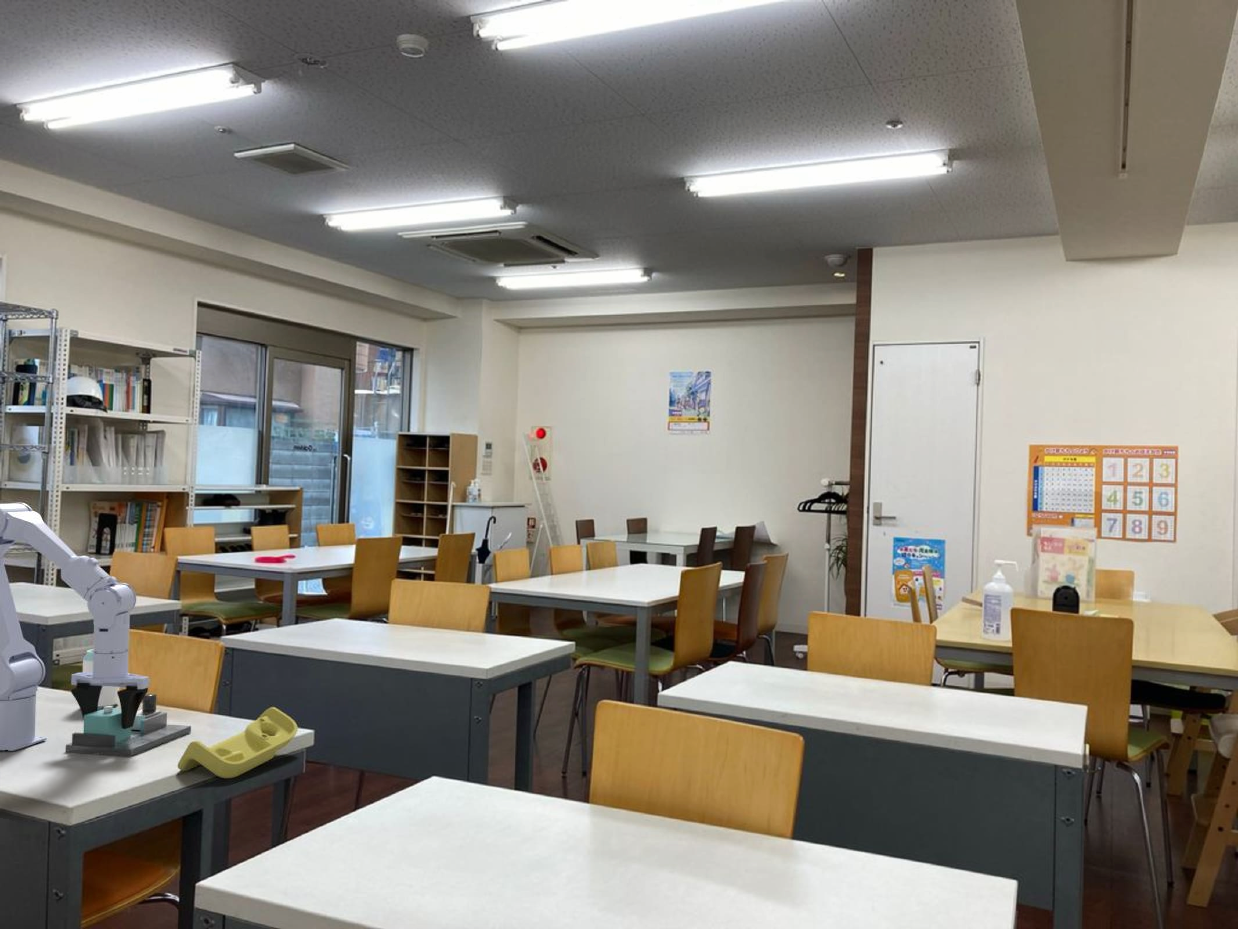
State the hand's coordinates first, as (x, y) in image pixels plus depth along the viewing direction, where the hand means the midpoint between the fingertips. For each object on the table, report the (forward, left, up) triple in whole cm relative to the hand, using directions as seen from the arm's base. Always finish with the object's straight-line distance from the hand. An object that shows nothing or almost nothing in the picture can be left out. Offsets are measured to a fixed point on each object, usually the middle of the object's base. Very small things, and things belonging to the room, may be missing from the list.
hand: (108, 726), depth 173 cm
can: (-23, +27, -4) cm, 36 cm away
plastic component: (+29, -3, -4) cm, 29 cm away
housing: (0, 0, -2) cm, 2 cm away
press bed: (+2, +3, -4) cm, 5 cm away
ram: (0, +10, -2) cm, 10 cm away
